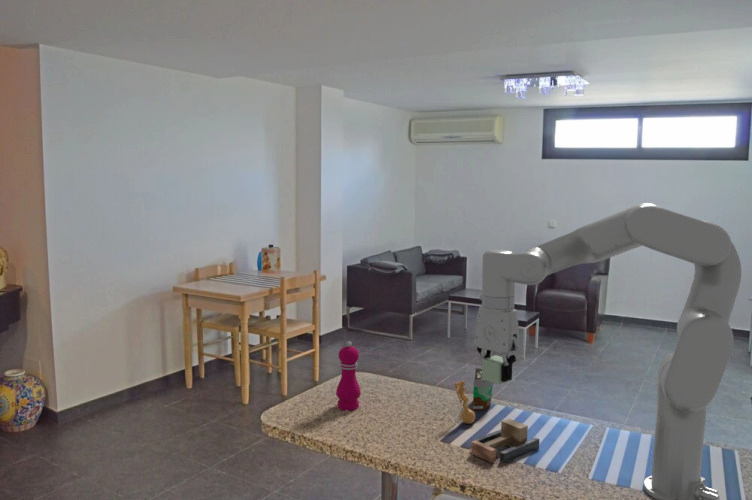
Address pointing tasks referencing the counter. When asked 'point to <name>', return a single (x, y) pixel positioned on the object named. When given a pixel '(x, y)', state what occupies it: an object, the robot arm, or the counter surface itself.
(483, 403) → the food container
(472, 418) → the figurine
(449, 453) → the counter surface
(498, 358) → the block
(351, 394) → the pepper mill
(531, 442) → the dark grey rails
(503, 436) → the tan pedestal
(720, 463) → the counter surface
